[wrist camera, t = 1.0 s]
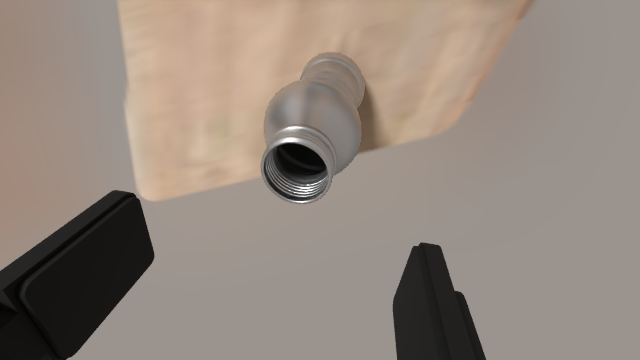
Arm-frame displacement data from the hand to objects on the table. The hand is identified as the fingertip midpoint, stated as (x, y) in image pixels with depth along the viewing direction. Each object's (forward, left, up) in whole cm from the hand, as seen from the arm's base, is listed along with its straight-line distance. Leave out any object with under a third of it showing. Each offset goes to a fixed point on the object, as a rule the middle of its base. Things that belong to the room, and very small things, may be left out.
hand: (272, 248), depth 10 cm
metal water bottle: (0, 0, -25) cm, 25 cm away
